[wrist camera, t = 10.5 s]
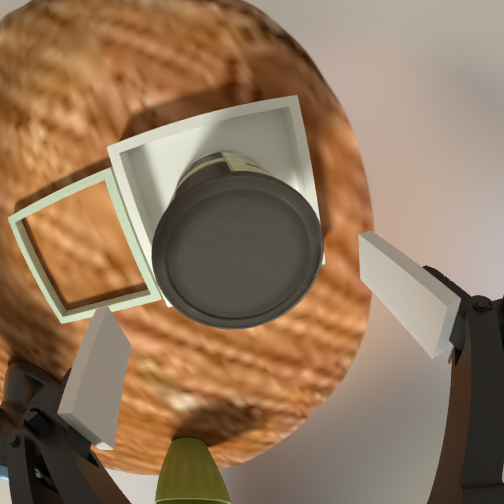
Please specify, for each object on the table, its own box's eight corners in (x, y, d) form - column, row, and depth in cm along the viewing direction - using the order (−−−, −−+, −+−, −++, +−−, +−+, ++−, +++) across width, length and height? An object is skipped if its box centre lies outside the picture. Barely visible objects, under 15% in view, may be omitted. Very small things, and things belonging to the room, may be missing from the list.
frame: (65, 317, 32) (61, 323, 31) (13, 214, 25) (7, 218, 24) (163, 292, 33) (161, 299, 32) (114, 165, 26) (110, 167, 24)
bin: (170, 290, 33) (168, 307, 30) (117, 144, 25) (106, 147, 22) (314, 250, 34) (325, 263, 31) (286, 98, 26) (297, 94, 23)
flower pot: (234, 435, 50) (245, 500, 36) (207, 459, 55) (213, 514, 40) (166, 423, 45) (166, 494, 31) (148, 448, 50) (147, 507, 35)
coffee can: (177, 247, 30) (164, 334, 18) (171, 152, 26) (141, 177, 13) (270, 243, 32) (313, 323, 19) (274, 150, 27) (333, 173, 15)
